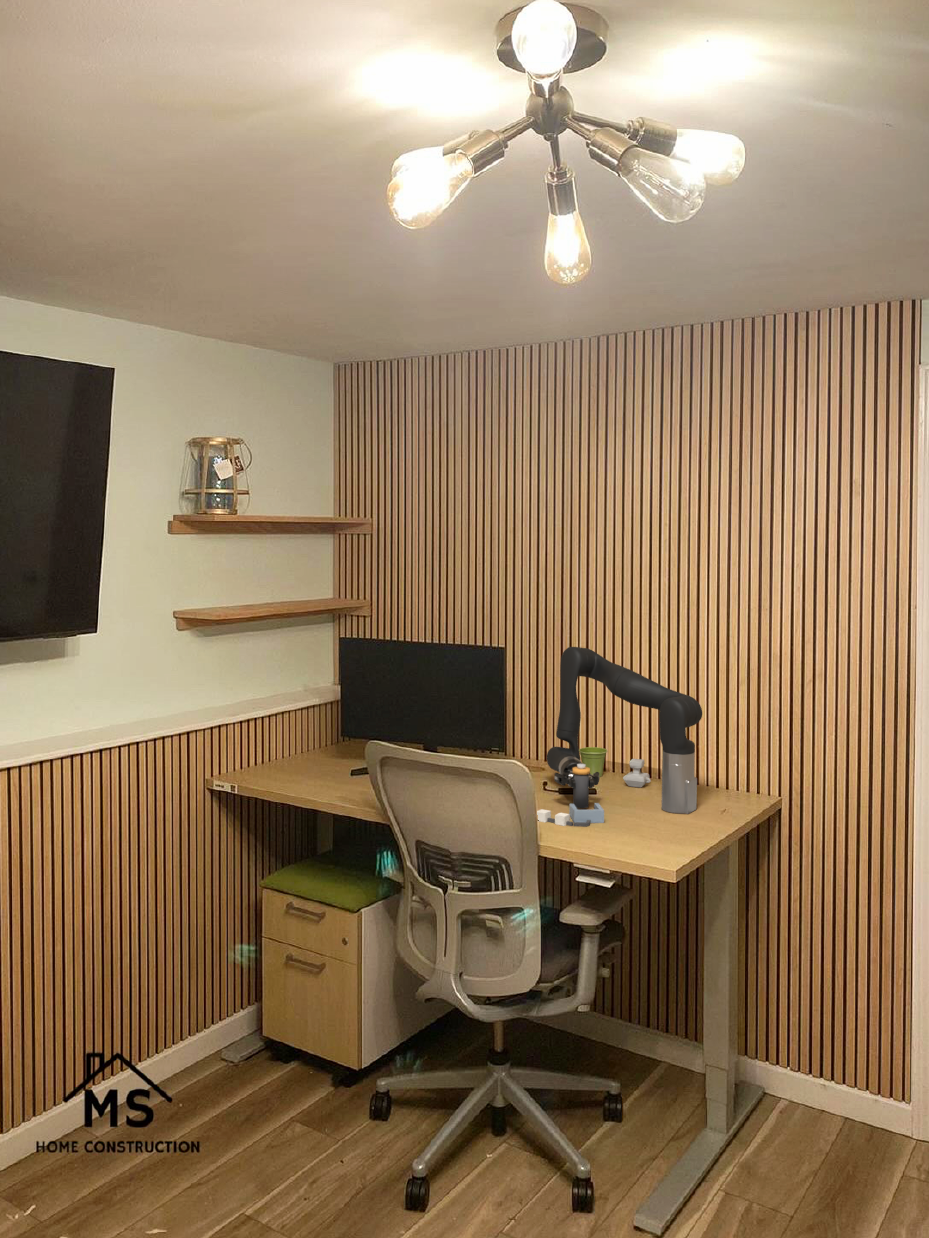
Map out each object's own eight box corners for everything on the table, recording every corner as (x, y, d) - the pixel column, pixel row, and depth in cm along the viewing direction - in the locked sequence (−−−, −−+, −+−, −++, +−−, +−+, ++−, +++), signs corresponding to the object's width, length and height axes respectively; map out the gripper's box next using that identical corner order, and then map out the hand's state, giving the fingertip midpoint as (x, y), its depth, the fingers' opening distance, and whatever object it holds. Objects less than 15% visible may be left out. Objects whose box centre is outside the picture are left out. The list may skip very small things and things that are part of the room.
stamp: (620, 787, 321) (620, 760, 321) (625, 782, 327) (626, 756, 327) (647, 790, 318) (648, 763, 317) (653, 785, 324) (653, 759, 323)
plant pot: (598, 780, 330) (598, 754, 329) (573, 776, 335) (573, 750, 335) (612, 775, 337) (612, 749, 336) (587, 770, 343) (587, 745, 342)
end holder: (569, 814, 290) (569, 802, 289) (597, 814, 290) (598, 802, 290) (574, 823, 281) (574, 810, 281) (604, 822, 282) (604, 810, 282)
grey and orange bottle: (592, 805, 294) (593, 763, 293) (584, 809, 290) (584, 767, 289) (577, 802, 297) (578, 761, 296) (569, 806, 293) (569, 764, 292)
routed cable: (593, 823, 281) (593, 814, 281) (581, 829, 275) (581, 820, 275) (547, 814, 290) (547, 805, 289) (534, 820, 284) (534, 811, 284)
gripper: (549, 759, 306) (558, 772, 289) (595, 758, 307) (607, 771, 290) (549, 783, 307) (558, 798, 290) (595, 782, 308) (607, 797, 291)
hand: (582, 784), depth 290 cm, fingers closed on grey and orange bottle, 4 cm apart
